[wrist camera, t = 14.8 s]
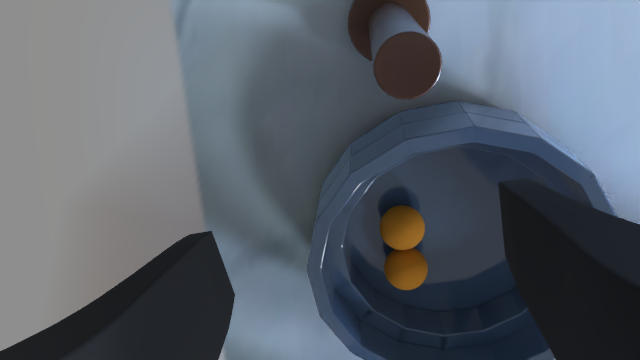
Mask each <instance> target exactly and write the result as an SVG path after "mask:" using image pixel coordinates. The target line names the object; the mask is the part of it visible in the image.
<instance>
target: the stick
mask: <svg viewBox="0 0 640 360" xmlns="http://www.w3.org/2000/svg"><path fill="white" fill-rule="evenodd" d="M429 28H430V11H429V7H428V4H427V2H426V0H354V1H353V3H352V6H351V8H350V12H349V17H348V31H349V35H350V38H351V41H352V43H353V45H354V47H355V48H356V49H357V51H358V52H359V53H360V54H361V55H362V56H364V57H365V58H367V59H368V60H370V61H372V62H373V70H374V76H375V79H376V81H377V83H378V85H379V86H380V87H381V89H382V90H383V91H384V92H386V93H387V94H388V95H390V96H392V97H395V98H398V99H414V98H417V97H420V96H422V95H424V94H425V93H427V92H428V91H429V90H431V89H432V88H433V86H434V85H435V84H436V82H437V81H438V79H439V77H440V74H441V70H442V56H441V53H440V50H439V48H438V46H437V45H436V43H435V42H434V41H433V40H432V39H431V38H430V36H429V35H428V32H429Z"/></svg>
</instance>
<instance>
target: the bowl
mask: <svg viewBox="0 0 640 360" xmlns="http://www.w3.org/2000/svg"><path fill="white" fill-rule="evenodd" d="M520 178H528V179H530V180H533V181H535V182H537V183H540V184H542V185H544V186H546V187H548V188H550V189H553V190H555V191H557V192H559V193H561V194H563V195H565V196H568V197H570V198H572V199H574V200H576V201H579V202H581V203H583V204H586V205H588V206H590V207H593V208H595V209H598V210H600V211H603V212H605V213H608V214H611V215H613V216H616V217H617V215H616V213H615V212H614V210H613V208H612V206H611V204H610V202H609V200H608V199H607V197H606V195H605V193H604V191H603V189H602V188H601V186H600V184H599V182H598V180H597V178H596V177H595V175H594V174H593V173H592V171H590V170H589V169H588V168H587V167H586V166H585V165H584V164H583V163H582V162H581V161H580V160H579V159H577V158H576V157H575V156H574V155H573V154H572V153H571V152H570V151H569V150H568V149H567V148H566V147H565V146H563V145H562V144H561V143H560V142H559V141H558V140H557V139H555V138H554V137H552V136H551V135H549V134H548V133H546V132H545V131H543V130H542V129H540V128H539V127H537V126H536V125H534V124H533V123H531V122H530V121H529V120H527V119H526V118H524V117H523V116H521V115H520V114H518V113H517V112H514V111H511V110H506V109H500V108H495V107H489V106H484V105H479V104H473V103H468V102H462V101H453V102H448V103H443V104H438V105H432V106H427V107H422V108H417V109H412V110H407V111H402V112H400V113H397V114H395V115H394V116H392V117H391V118H389V119H387V120H386V121H384V122H383V123H381V124H380V125H378V126H376V127H375V128H373V129H372V130H370V131H369V132H367V133H365V134H364V135H362V136H361V137H359V138H357V139H356V140H354V141H353V142H352V143H351V144H350V145H349V146H348V148H347V149H346V151H345V152H344V154H343V155H342V156H341V158H340V159H339V161H338V162H337V163H336V165H335V166H334V168H333V169H332V171H331V172H330V173H329V175H328V176H327V178H326V179H325V181H324V182H323V185H322V187H321V193H320V198H319V204H318V209H317V214H316V220H315V225H314V231H313V236H312V242H311V248H310V254H309V259H308V265H307V273H308V276H309V280H310V283H311V287H312V290H313V294H314V297H315V301H316V304H317V308H318V311H319V315H320V316H321V318H322V319H323V320H324V321H325V323H326V324H327V325H328V326H329V327H330V328H331V330H332V331H333V332H334V333H335V334H336V335H337V337H338V338H339V339H340V340H341V341H342V342H343V344H344V345H345V346H346V347H347V348H348V350H349V351H350V352H352V353H353V354H355V355H357V356H358V357H360V358H362V359H364V360H553V358H555V357H554V355H553V353H552V352H551V350H550V348H549V346H548V344H547V343H546V341H545V339H544V337H543V335H542V333H541V332H540V330H539V328H538V326H537V324H536V322H535V321H534V319H533V317H532V315H531V313H530V311H529V310H528V308H527V306H526V304H525V302H524V300H523V298H522V297H521V295H520V293H519V291H518V289H517V286H516V284H515V281H514V278H513V276H512V273H511V270H510V268H509V265H508V262H507V259H506V257H505V250H504V239H503V229H502V218H501V208H500V197H499V187H498V182H503V181H508V180H514V179H520ZM399 205H404V206H409V207H412V208H413V209H415V210H416V211H417V212H419V214H420V215H421V216H422V218H423V221H424V224H425V232H424V236H423V238H422V240H421V241H420V242H419V243H418V244H417V245H416V246H415V247H413V248H414V249H416V250H418V251H419V252H420V253H421V254H422V255H423V256H424V258H425V260H426V262H427V266H428V272H427V276H426V279H425V280H424V282H423V283H422V284H421V285H420V286H419V287H417V288H415V289H412V290H401V289H398V288H396V287H394V286H393V285H392V284H391V283H390V282H389V281H388V279H387V278H386V275H385V271H384V264H385V260H386V258H387V256H388V255H389V254H390V253H391V252H392V251H393V250H395V249H394V248H392V247H390V246H389V245H388V244H386V243H385V241H384V240H383V238H382V236H381V234H380V221H381V219H382V217H383V215H384V214H385V212H386V211H388V210H389V209H390V208H392V207H395V206H399Z"/></svg>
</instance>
